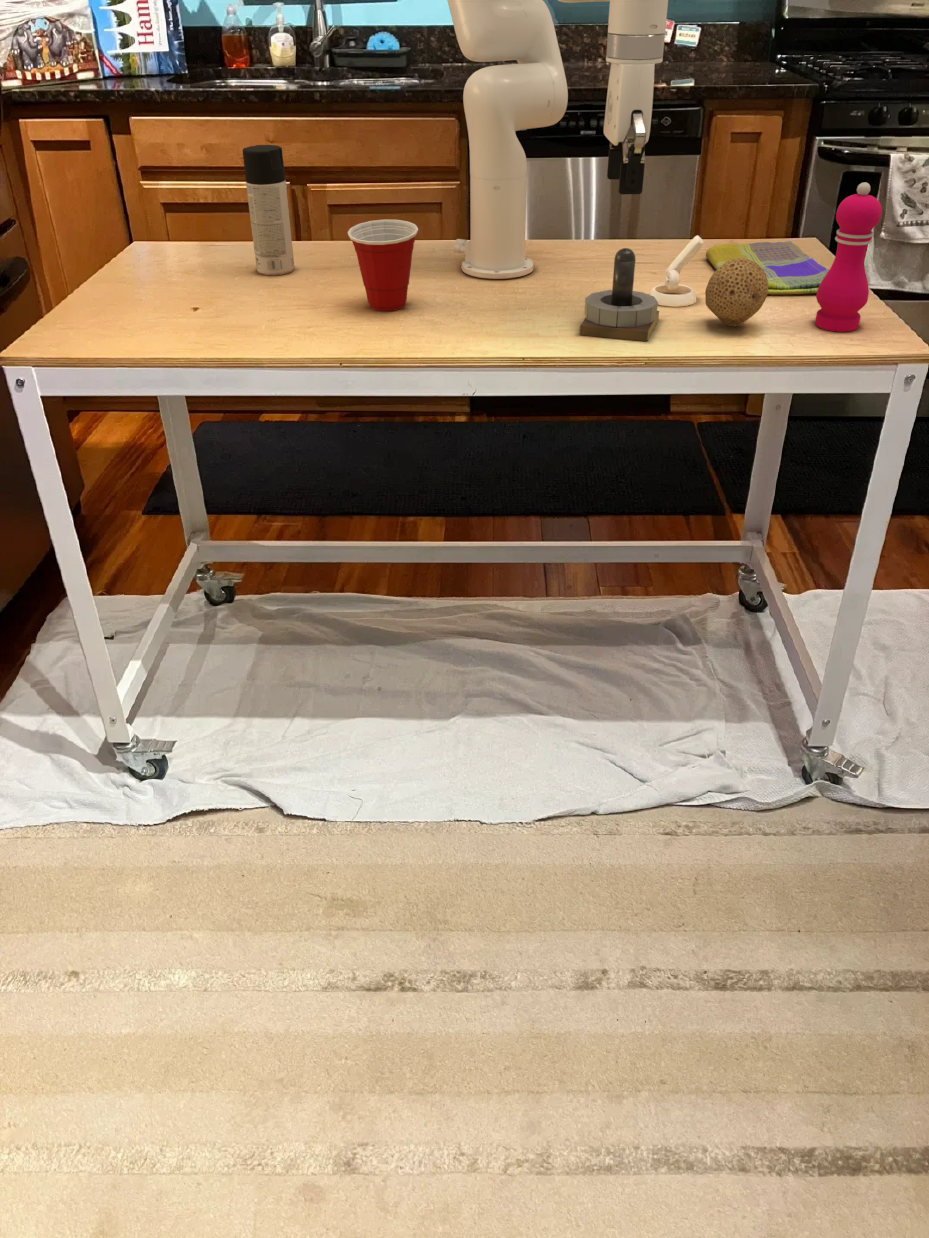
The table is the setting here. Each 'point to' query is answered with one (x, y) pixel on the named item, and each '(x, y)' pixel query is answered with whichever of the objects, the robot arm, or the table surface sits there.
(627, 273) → the spindle
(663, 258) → the table surface
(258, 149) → the spray can
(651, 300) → the grey ring
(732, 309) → the natural sponge
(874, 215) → the pepper mill
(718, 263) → the dish towel
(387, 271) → the plastic cup
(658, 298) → the white lever handle
